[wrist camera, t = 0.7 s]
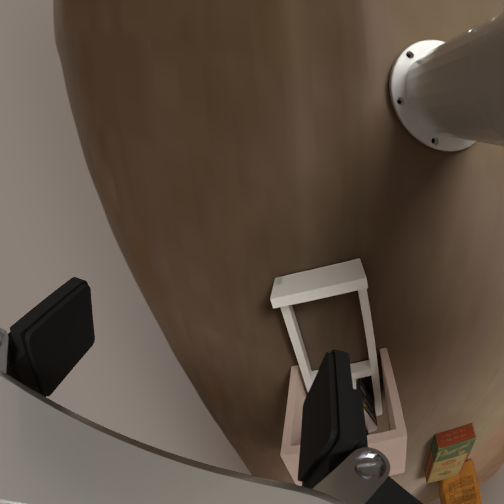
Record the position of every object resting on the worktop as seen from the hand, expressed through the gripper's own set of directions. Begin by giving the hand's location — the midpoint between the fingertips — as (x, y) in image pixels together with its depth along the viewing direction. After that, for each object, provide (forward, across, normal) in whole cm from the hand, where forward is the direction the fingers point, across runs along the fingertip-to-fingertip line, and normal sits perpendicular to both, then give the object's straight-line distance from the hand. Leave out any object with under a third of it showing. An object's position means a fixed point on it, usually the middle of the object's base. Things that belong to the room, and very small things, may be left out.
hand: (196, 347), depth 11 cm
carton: (+26, -47, +39) cm, 66 cm away
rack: (+26, -14, +18) cm, 34 cm away
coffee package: (+26, -58, +50) cm, 80 cm away
